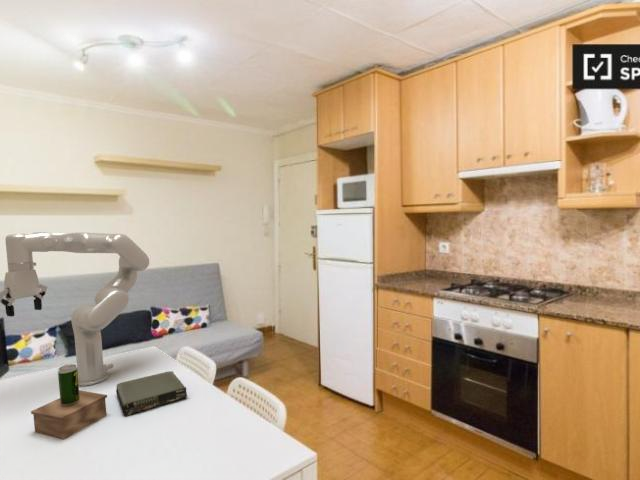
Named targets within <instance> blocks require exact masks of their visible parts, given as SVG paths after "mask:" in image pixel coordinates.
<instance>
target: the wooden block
mask: <svg viewBox="0 0 640 480" xmlns="http://www.w3.org/2000/svg"><path fill="white" fill-rule="evenodd" d="M79 395H80V399H79V401H78V402H77V403H76V404H73V405H70V406H62V404H61V403H60V397H59V398H57V399H55V400H52V401H51V402H48V403H46V404H44V405H41V406H40V407H37V408H35V409H33V410H31V411H30V414H31V415H32V416H33V426H34V433H37V434H41V435H45V436H49V437H53V438H58V439H61V440H65V439H67V438H68V437H70V436H72V435H74V434H76V433H78V432H79V431H81V430H83V429H85V428H86V427H88V426H90V425H92V424H94V423H95V422H97V421H100V420H101V419H103V418H104V417H106V416H107V415H108V413H107V404H106V403H107V402H106V398H108V394H103V393H97V392H92V391H86V390H82V389H81V390H80V389H79Z"/></svg>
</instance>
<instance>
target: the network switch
mask: <svg viewBox="0 0 640 480" xmlns="http://www.w3.org/2000/svg"><path fill="white" fill-rule="evenodd" d="M115 392H116V397H117V399H118V402H119V406H120V409H121V411H122V415H124V417H128V416H129V415H130V416H131V415H132V414H134V413H138V412H139V413H140V412H141V411H145V410H151V409H153V408H157V407H159V406H160V407H162V406H163V405H166V404H169V403H172V402H176V401H179V400H183V399H184V400H186V399H187V387H186V386H185V385H184V383H183V382H182V381H181V380H180V379H179V378H178V377H177V375H176V374H175V373H174V371H169V370H168V371H165V372H161V373H156V374H155V373H154V374H152V375H147V376H144V377H143V376H142V377H139V378H138V377H137V378H134V379H130V380H127V381H121V382H119V383H117V384H116V390H115Z"/></svg>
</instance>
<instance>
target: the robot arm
mask: <svg viewBox="0 0 640 480" xmlns="http://www.w3.org/2000/svg"><path fill="white" fill-rule="evenodd" d="M5 249H6V250H5V252H6V259H7V272H5V274H4V283H3V290H1V292H0V303H1V305H3V306H4V307H5V315H6V316H7V317H14V316H15V306H14V305H13V304H14V303H15V301H16V300H20V299H25V298H29V297H32V298H34V299H33V306H34V307H33V308H34V310H36V311H41V310H42V309H43V302H42V300H43V298H44V296H45V295H46V291H47V289H48V286H46V285H43V284H42V283H41V284H40V282H39V278H38V274H37V271H36V269H34V268H35V267H36V266H37V262H34V260H33V258H34V257H33V252H38V253H41V252H42V253H48V252H63V253H64V252H67V253H75V254H117V255H118V256H119V258H118V272H117V274H116V275H115V276H114V278H112V280H110V281H109V282H108V283H107V284H106V285H104V286H103V288H101V289H100V290H99V291H98V292H97V293H96V294H95V296H94V302H95V305H90V304H83V305H80V306H78V307H76V308H75V309H73V312H72V313H71V318H70V319H71V320H70V321H71V326H72V330H73V331H72V332H73V335H74V336H73V337H74V343H75V344H74V346H75V347H74V348H75V360H76V361H75V362H76V367H77V371H78V383H79V387H86V386H92V385H96V384H99V383H101V382H103V381H106V380H107V379H108V378H109V373H108V372H107V371H108V370H110V369H113V368H114V363H109V364H106V363H105V364H104V355H103V343H102V342H103V341H102V332H101V331H102V330H103V329H105V328H106V327H107V326H109V324H111V323H112V322H113V321H114V320H115V319H116V318H117V317H118V316H119V315H120V314H121V313H123V311H124V310H125V309H126V308H127V306H128V304H129V300H130V299H129V294H128V292H130V291H131V289H132V288H134V286H135V285H136V283H137V278H138V272H143V271H145V270H147V268H148V267H149V265H150V258H149V255H148V254H147V253H146V252H145V251H144V250H143V249H142V248H141V247H140V246H138V244H136V242H134V240H132V239H131V238H130V237H129V236H127V235H126V234H123V233H98V232H67V233H65V232H64V233H61V232H46V231H38V232H37V231H36V232H32V233H30V234H28V233H12V234H8V235H6V236H5ZM40 289H41V290H40Z"/></svg>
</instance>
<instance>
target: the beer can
mask: <svg viewBox="0 0 640 480" xmlns="http://www.w3.org/2000/svg"><path fill="white" fill-rule="evenodd" d="M57 376H58V377H57V378H58V390H59V398H60V403H61V404H62V406H70V405H73V404H76V403H77V402H78V401H79V399H80V395H79V390H80V386H79V383H78V371H77V364H75V363H74V364H73V363H70V364H64V365H61V366H60V367H58V371H57Z"/></svg>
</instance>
